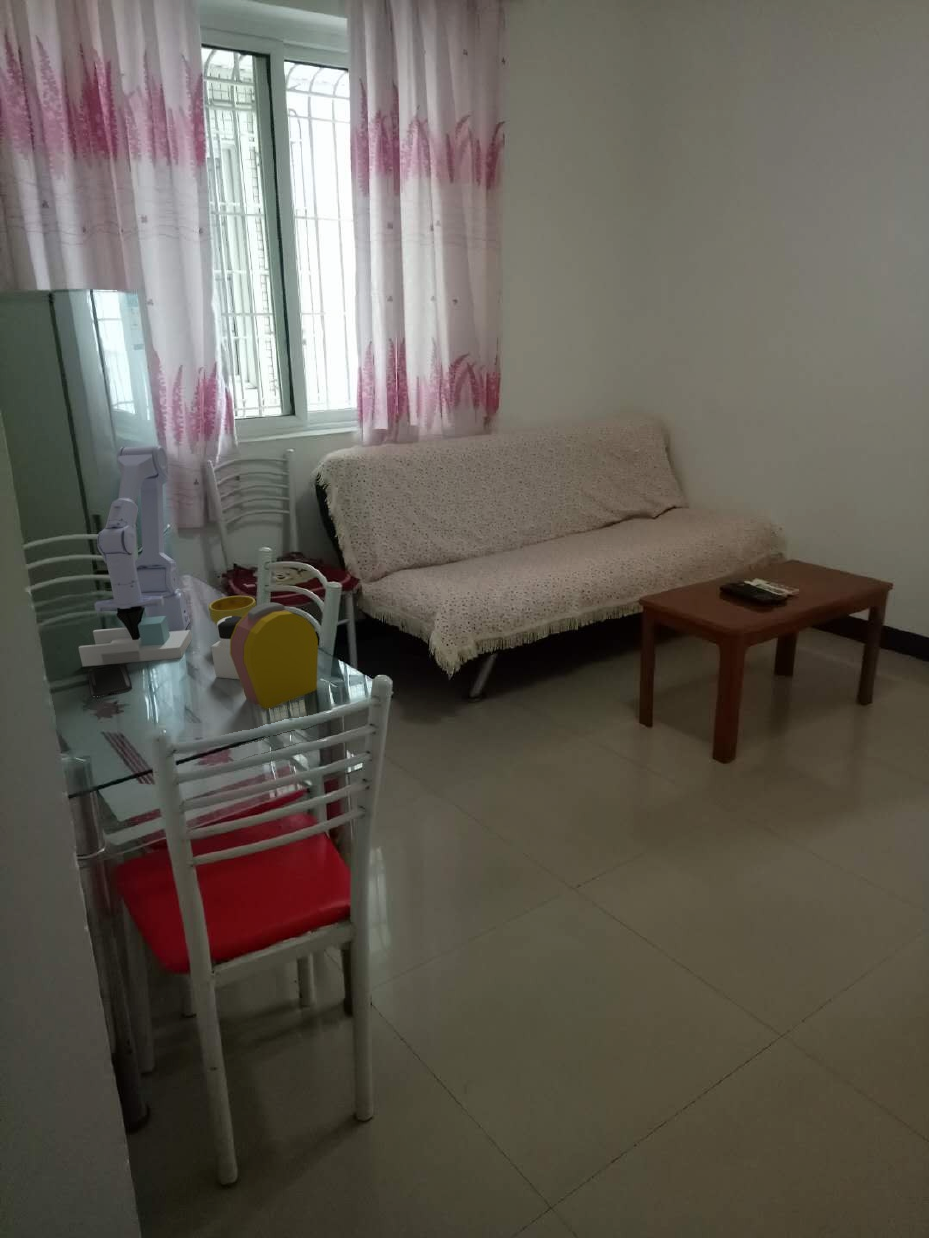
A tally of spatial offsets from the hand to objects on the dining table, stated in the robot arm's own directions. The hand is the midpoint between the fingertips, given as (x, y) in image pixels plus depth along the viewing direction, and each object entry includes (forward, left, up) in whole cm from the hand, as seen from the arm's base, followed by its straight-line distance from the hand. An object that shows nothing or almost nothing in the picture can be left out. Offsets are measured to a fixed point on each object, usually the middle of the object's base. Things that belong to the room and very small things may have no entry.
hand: (136, 638), depth 191 cm
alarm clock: (-35, +30, -4) cm, 46 cm away
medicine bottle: (-25, +17, -4) cm, 31 cm away
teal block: (-4, 0, -1) cm, 4 cm away
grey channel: (0, 0, -3) cm, 4 cm away
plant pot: (-22, -1, -4) cm, 22 cm away
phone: (+2, +15, -4) cm, 16 cm away
